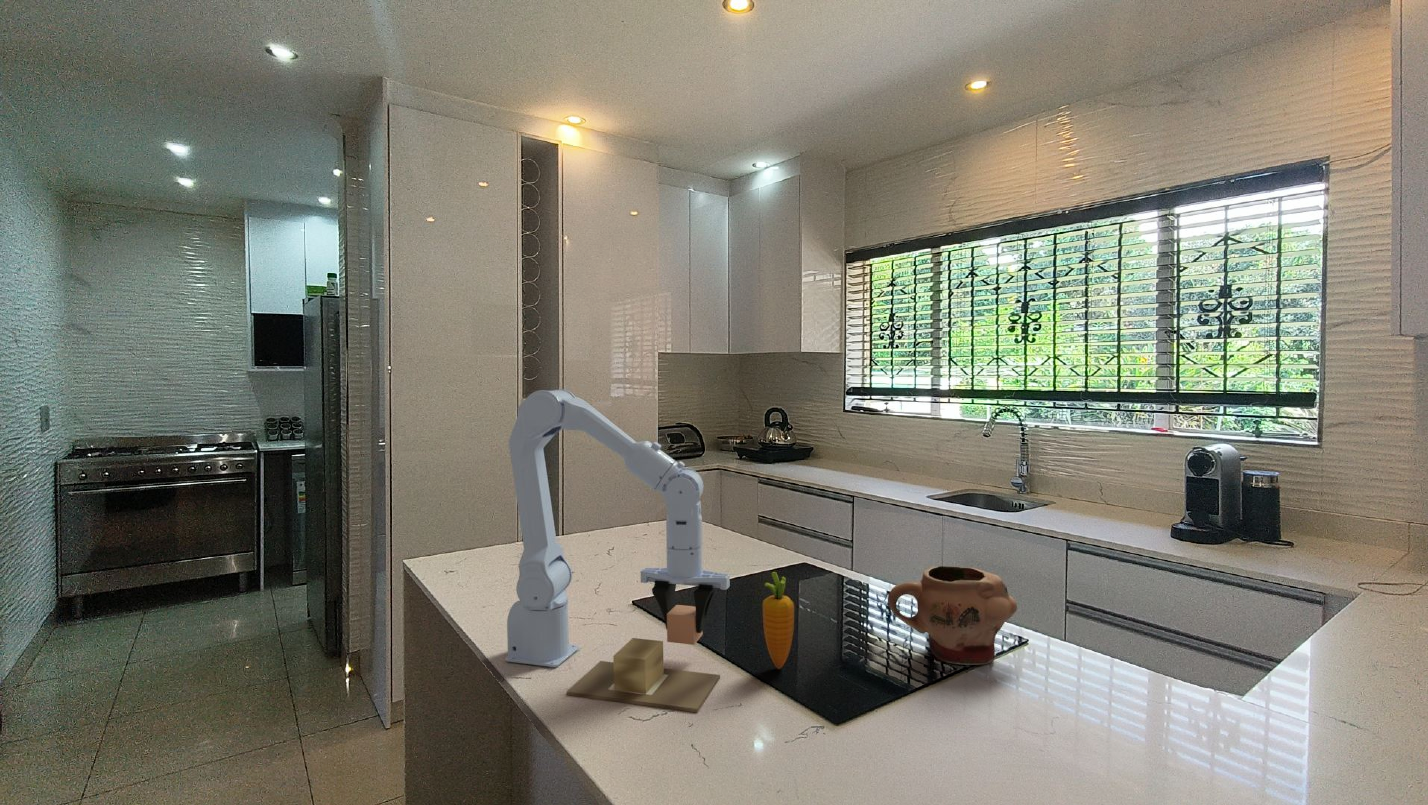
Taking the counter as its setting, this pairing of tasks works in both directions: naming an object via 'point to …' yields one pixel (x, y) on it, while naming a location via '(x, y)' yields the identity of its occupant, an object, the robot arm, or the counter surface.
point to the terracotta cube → (682, 625)
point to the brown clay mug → (958, 612)
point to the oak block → (638, 665)
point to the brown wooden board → (666, 693)
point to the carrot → (778, 622)
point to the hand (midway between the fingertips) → (685, 629)
